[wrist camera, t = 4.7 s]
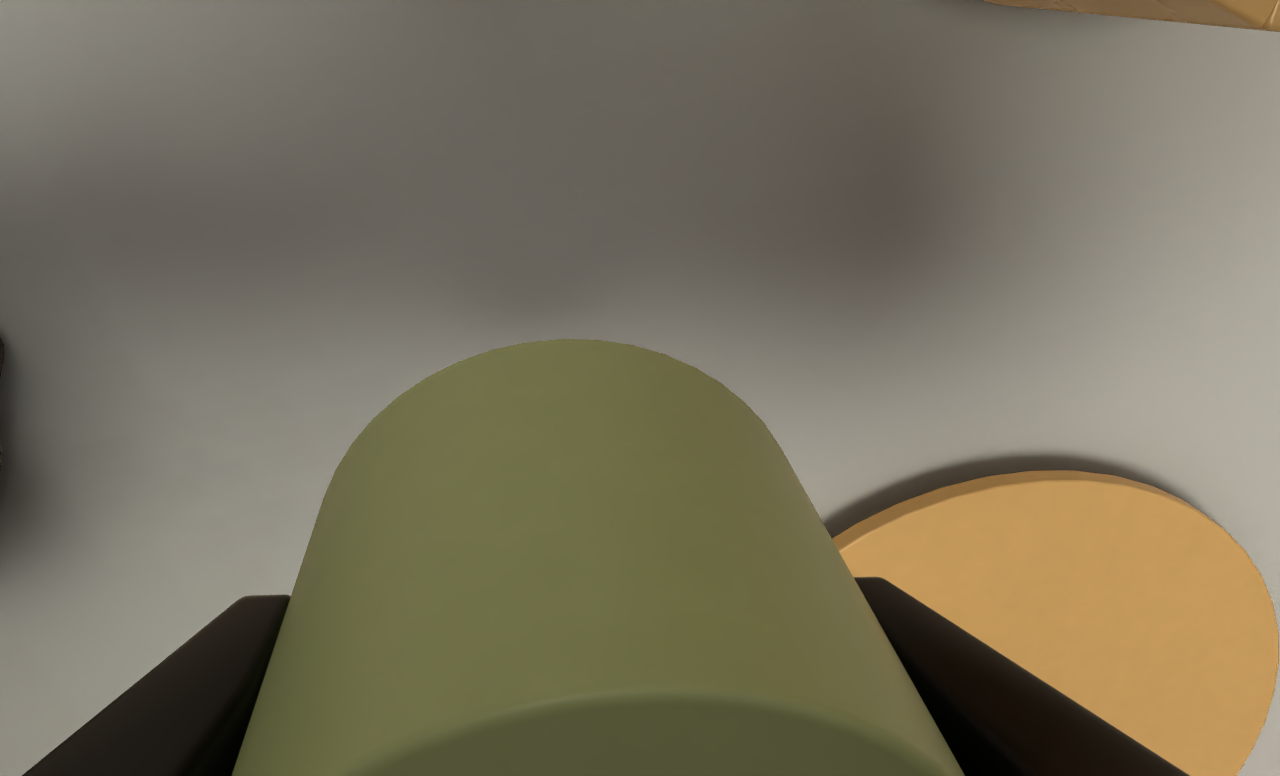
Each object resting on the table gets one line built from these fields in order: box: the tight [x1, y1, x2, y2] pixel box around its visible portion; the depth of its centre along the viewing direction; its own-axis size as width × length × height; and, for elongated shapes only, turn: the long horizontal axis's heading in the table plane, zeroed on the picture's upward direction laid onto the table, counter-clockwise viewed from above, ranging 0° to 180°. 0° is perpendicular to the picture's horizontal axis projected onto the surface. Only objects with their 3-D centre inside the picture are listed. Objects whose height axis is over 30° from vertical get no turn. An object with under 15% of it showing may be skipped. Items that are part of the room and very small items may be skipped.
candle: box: [232, 339, 965, 776], centre depth 7 cm, size 5×5×4 cm
